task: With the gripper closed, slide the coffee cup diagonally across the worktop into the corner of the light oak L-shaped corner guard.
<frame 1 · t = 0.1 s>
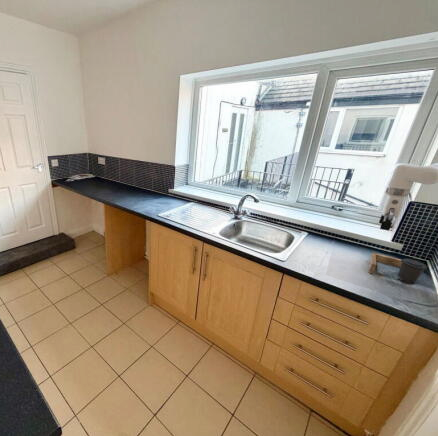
hand: (383, 226, 115), 20 cm above the counter, tool pointing down, fingers open, 9 cm apart
corner guard: (388, 271, 116), on the counter
coffee cup: (405, 281, 109), on the counter
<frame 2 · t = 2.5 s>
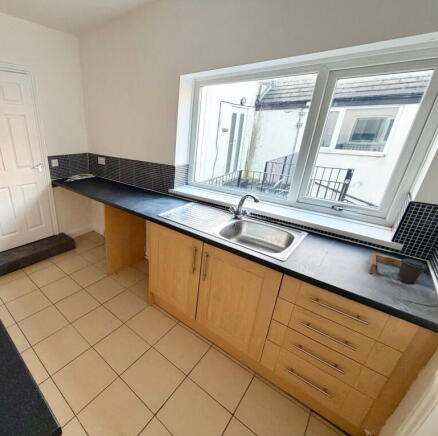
nothing on the counter moved.
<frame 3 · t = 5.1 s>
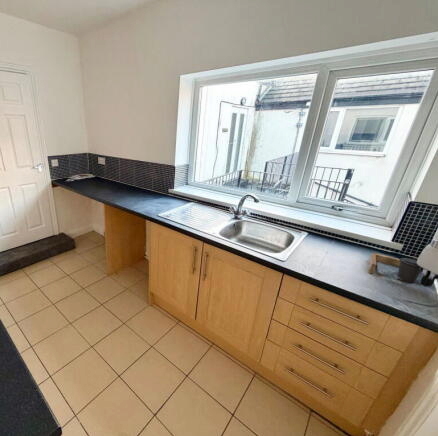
hand: (425, 285, 101), 3 cm above the counter, tool pointing down, fingers closed
coffee cup: (405, 280, 109), on the counter, touching gripper
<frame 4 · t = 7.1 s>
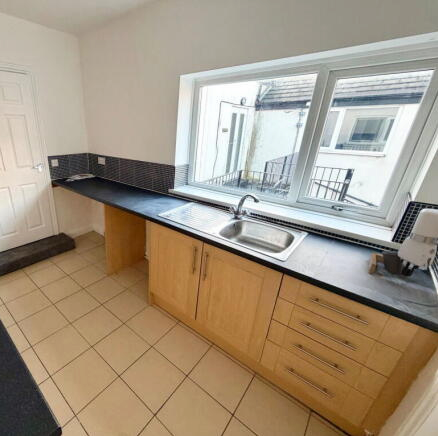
hand: (405, 275, 108), 3 cm above the counter, tool pointing down, fingers closed
coffee cup: (393, 273, 114), point 1 cm above the counter, touching gripper
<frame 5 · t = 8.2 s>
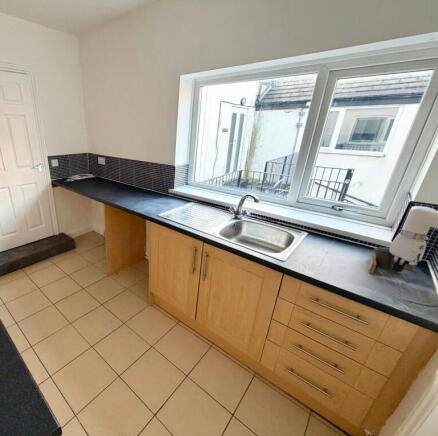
hand: (396, 270, 112), 3 cm above the counter, tool pointing down, fingers closed
coffee cup: (384, 268, 117), point 1 cm above the counter, touching gripper
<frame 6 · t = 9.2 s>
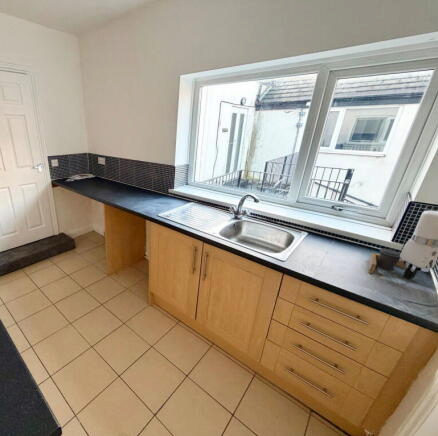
hand: (408, 277, 108), 2 cm above the counter, tool pointing down, fingers closed
coffee cup: (383, 269, 118), on the counter
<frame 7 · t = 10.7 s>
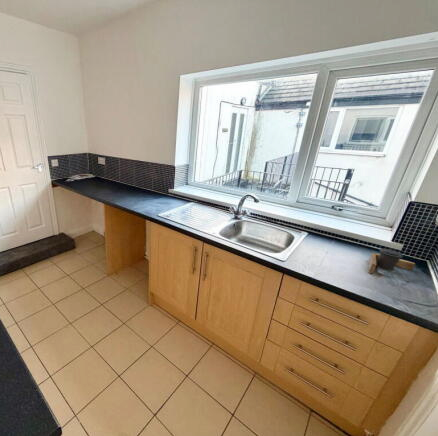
nothing on the counter moved.
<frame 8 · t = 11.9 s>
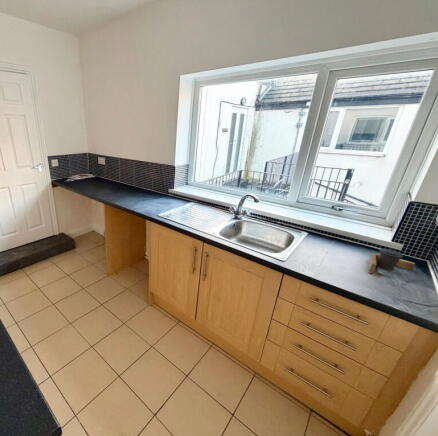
nothing on the counter moved.
at the end: coffee cup 0.4 cm from the target spot, on the counter; coffee cup tilted 3° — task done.
